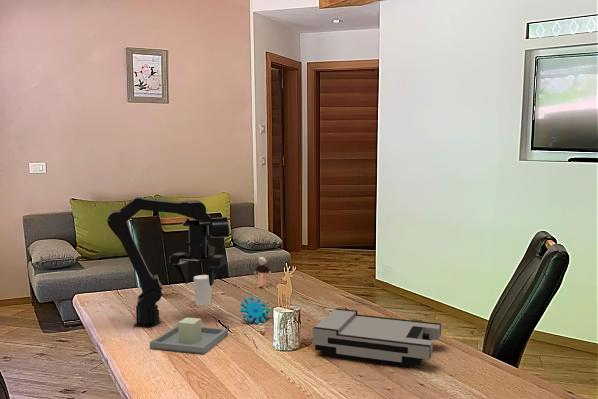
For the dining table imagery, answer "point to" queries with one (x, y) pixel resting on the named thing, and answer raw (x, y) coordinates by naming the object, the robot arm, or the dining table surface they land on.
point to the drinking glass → (202, 290)
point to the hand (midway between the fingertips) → (198, 284)
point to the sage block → (189, 330)
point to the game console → (375, 338)
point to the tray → (171, 343)
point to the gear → (254, 310)
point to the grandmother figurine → (262, 273)
